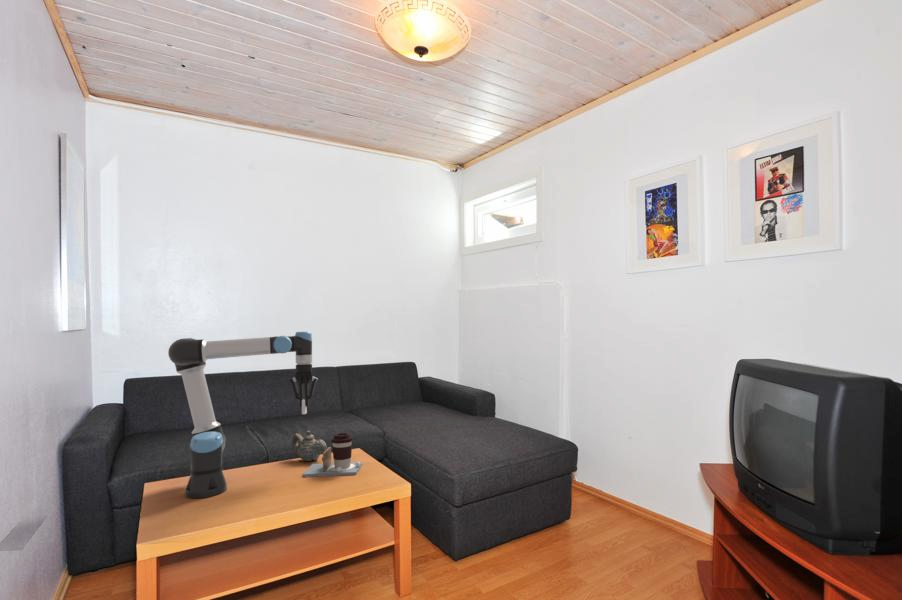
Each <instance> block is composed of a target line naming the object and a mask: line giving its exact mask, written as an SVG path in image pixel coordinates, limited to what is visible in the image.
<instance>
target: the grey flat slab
mask: <svg viewBox="0 0 902 600" xmlns="http://www.w3.org/2000/svg"><path fill="white" fill-rule="evenodd" d="M362 466H363V461H351V463H350V467H348V468H344V469H341V467H337V468H335V466H334V462H331V465H330V466H329V468H328V469H327V470H326V471H323V462H321V463H312V464H311V465H310V466H309V467H308V468H307V469H306V470H305V471H304V472H303V473H302V478H309V477H310V478H311V477H315V478H316V477H335V476H355V475H357V474H358V472H359V471H360V470H361V468H362Z"/></svg>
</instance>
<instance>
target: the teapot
mask: <svg viewBox="0 0 902 600" xmlns="http://www.w3.org/2000/svg"><path fill="white" fill-rule="evenodd" d="M291 446H292V448H293V450H294V451H295V452H296V453H297V456H298V457H299V458H300V459H301V460H302V461H304V462H307V461H311V462H313V461H312V460H314V461H317V460H318V459H319V457H320V455H321V453H324V451H325V450H326V449H327V448H328V447H327V443H326V442H325V440H323V439H315V436H314V434H311V430H307V431H306V434H305V435H304V436H302V435H301V434H300V433H294V434H293V437H292V441H291Z"/></svg>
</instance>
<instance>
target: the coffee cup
mask: <svg viewBox="0 0 902 600" xmlns="http://www.w3.org/2000/svg"><path fill="white" fill-rule="evenodd" d="M330 439H331V440H330V443H332V446H331V449H332V456H333V458H332V459H333V463H334V466H335V468H337V467H341V469H344V468H348V467H350V463H351V462H352V461H351V459H352V449H353V448H352V447H353V444H352V442H353V440H354V437H353V435H351V434H350V433H348V432H339V433H335V434H334V436H333V437H331V438H330Z"/></svg>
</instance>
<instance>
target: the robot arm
mask: <svg viewBox="0 0 902 600" xmlns="http://www.w3.org/2000/svg"><path fill="white" fill-rule="evenodd" d="M167 351H168V353H167V354H168V357H169V360H170V361H171V362H172V363H173V364H174V366H175V370H176V373H177V374H180V375H181V378H182V381H183V386H184V390H185V393H186V398H187V401H188V402H187V403H188V406H189V410H190V415H191V418H192V422H193V426H194V429H192V431H191V435H192V436H191V437H192V438H191V439H190V444H189V447H190V476H189V479H188V481H187V485H186V488H185V491H184V492H185V493H184V494H185V495H184V497H186V498H188V499H202V498H208V497H209V498H210V497H214V496H216V495H220V494H223V493H224V492H225V491H227V488H228V487H227V486H228V485H227V484H228V483H227V480H226V478H225V474H224V472H223V451H224V449H225V448H226V444H227V438H226V435H225V434H224V432H223V431H224V430H223V428H222V424H221V423H220V422H218V421H217V419H216V416H215V415H216V414H215V412H214V408H213V403H212V399H211V395H210V391H209V388H208V383H207V379H206V378H207V377H206V375H205V371H204V369H205V367H206V366H207V363H206V361H207V360H214V359H215V360H216V359H226V358H227V359H228V358H239V357H249V356H260V355H262V356H263V355H275V354H286V353H291V352H292V353H295V364H296V365H295V375H294V377H292V378H290V379H289V382H290V383H291V385H292V389H293V393H294V396H295V397H294V398H295V399H296V400H299V407H300V408H301V415H306V414H307V413H308V410H307V408H308V407H309V405H310V404H309V403H310V402H309V401H310V399H312V398H313V397H314V392H315V388H316V384H317V381H319V378H318V377H315V376H314V374H313V364H312V363H313V338H312V333H311V332H310V331H296V332H295V335H292V336H291V335H290V336H289V335H288V336H287V335H279V336H275V335H274V336H270V337H269V336H268V337H267V336H266V337H253V338H251V337H250V338H238V339H223V340H221V339H220V340H210V341H209V340H208V341H206V340H205V339H196V338H192V337H191V338H190V337H187V338H186V337H185V338H178V339H176V340H175V341H173V342H172V343H171V345H170V346H169V348H168V350H167ZM310 382H311V386H310ZM297 383H298V385H297ZM298 387H299V389H298Z"/></svg>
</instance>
